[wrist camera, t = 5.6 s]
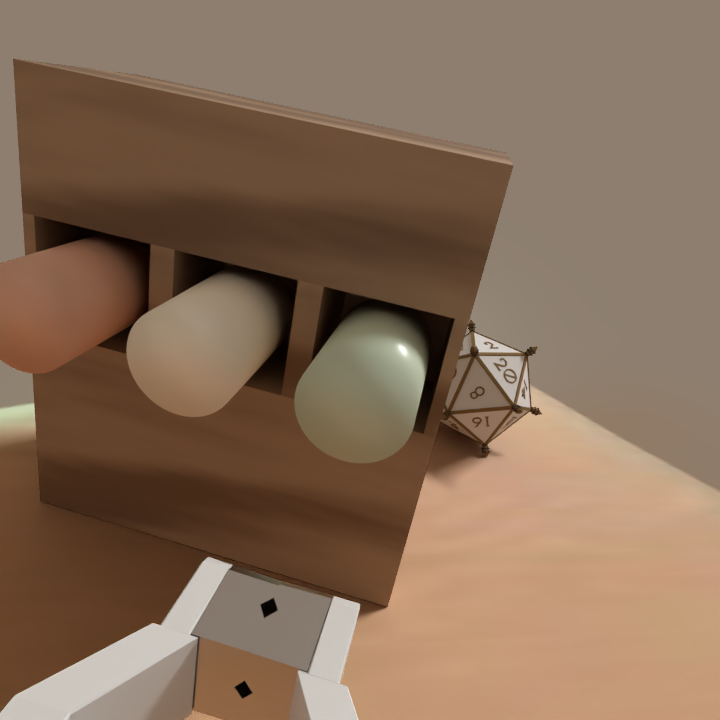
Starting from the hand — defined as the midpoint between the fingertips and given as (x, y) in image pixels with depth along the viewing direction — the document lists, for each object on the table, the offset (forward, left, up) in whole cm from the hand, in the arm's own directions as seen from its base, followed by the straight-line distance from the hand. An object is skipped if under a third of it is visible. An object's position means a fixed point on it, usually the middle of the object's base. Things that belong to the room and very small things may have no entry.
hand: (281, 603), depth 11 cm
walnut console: (-6, +16, -12) cm, 22 cm away
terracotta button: (-12, +11, -2) cm, 17 cm away
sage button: (0, +11, -2) cm, 12 cm away
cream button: (-6, +11, -2) cm, 13 cm away
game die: (+6, +30, -13) cm, 33 cm away
